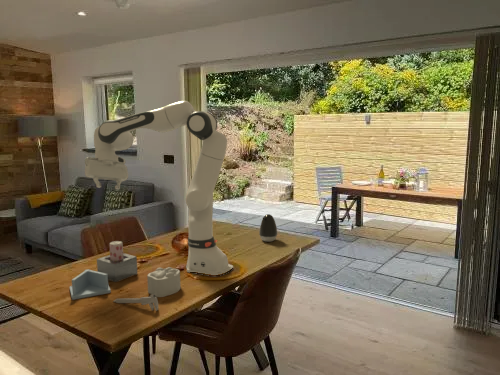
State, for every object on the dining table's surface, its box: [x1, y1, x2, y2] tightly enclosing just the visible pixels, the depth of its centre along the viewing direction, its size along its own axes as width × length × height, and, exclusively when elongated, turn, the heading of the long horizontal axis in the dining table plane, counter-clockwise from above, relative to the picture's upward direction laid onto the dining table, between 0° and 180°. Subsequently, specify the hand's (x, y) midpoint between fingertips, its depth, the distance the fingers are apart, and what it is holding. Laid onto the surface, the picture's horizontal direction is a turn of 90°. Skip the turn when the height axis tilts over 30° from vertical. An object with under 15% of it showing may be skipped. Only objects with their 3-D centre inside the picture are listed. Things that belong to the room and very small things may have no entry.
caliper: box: [112, 294, 159, 312], centre depth 160 cm, size 20×1×6 cm, turn 66°
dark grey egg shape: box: [258, 214, 278, 243], centre depth 241 cm, size 10×10×15 cm
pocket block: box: [96, 252, 138, 283], centre depth 191 cm, size 12×12×8 cm
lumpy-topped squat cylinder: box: [146, 266, 181, 298], centre depth 174 cm, size 10×13×9 cm
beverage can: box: [109, 240, 124, 262], centre depth 190 cm, size 6×6×15 cm
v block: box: [69, 269, 112, 301], centre depth 173 cm, size 12×14×7 cm
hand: (108, 188), depth 194 cm, fingers open, 8 cm apart
